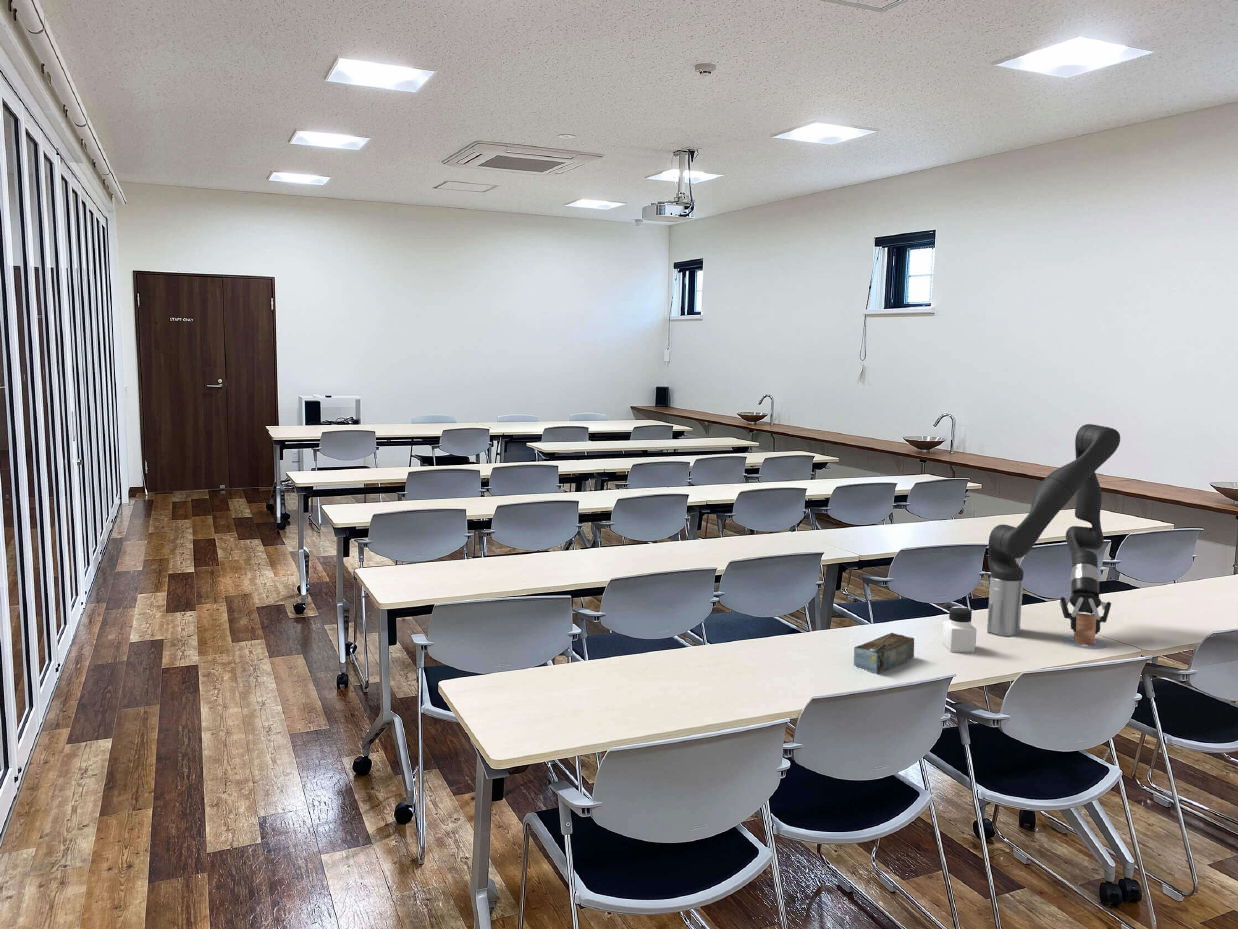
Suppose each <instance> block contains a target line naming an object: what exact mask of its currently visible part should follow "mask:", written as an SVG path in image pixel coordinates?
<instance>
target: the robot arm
mask: <svg viewBox="0 0 1238 929" xmlns="http://www.w3.org/2000/svg"><path fill="white" fill-rule="evenodd" d="M1120 443H1121V435H1120V432H1119V431H1118V430H1117V429H1115V428H1112V427H1109V426H1103V425H1100V424H1099V425H1098V424H1093V423H1087V424H1083V425H1082V426H1080V428H1078V430H1077V431H1076V433H1075V439H1074V446H1075V448H1074V449H1075V452H1074V453H1075V460H1072V461H1071V462H1069V463H1067V464H1065V465H1063V466H1061V467H1059V468H1057V469H1055V470H1053V471H1051V472H1050V473H1048V474H1047V476H1046V477H1045V478H1044V479H1043V480H1042V481H1041V483H1039V485H1038V487H1037V488H1036V489H1035V491H1034V493H1033V497H1032V501H1031V506H1030V510H1029V512H1028V514H1027V515H1026V517H1025V518H1024V519H1023V520H1022V521H1021V523H1020V524H1018V525H1017V526H1016V527H1015V526H1012V525H1009V524H1002V523H1001V524H998V525H996V526H995V527H993V529H991V532H990V535H989V538H988V544H987V545H988V548H987V550H988V552H987V553H988V555H987V556H988V557H987V558H988V560H987V561H988V568H989V570H990V577H989V579H990V580H989V594H988V608H987V610H988V612H987V625H986V626H987V627H986V630H987V631H986V633H988V632H991V633H990V634H993V633H994V635H996V634H997V635H996V636H1000V637H1001V636H1002V637H1014V636H1018V635H1020V632H1021V620H1022V619H1021V618H1022V606H1023V605H1022V602H1023V588H1024V587H1023V586H1024V570H1023V569H1022V567H1021V566H1020V565H1019V564H1018V562H1017V560H1016V559H1020V558H1021V559H1022V558H1024V557H1025V556H1026V555H1027V554H1028V553H1029V552H1030V551H1031V550H1032V548H1033V547H1034V546H1035V544H1036V542H1037V541H1038V540H1039V538H1040V537H1041V535H1042V533H1043V532H1044V531H1045V529H1046V528H1047V526H1049V524H1050V523H1051V522H1052V521H1053V519H1054V518H1055V517H1056V516H1057V515H1058V514H1059V512H1060V511H1061V510H1062V509H1063V508H1064V507H1065V506H1066V505H1067V504H1068V502H1069V501H1070V500H1071V499H1072V498H1073V497H1074V495H1075V494H1076V498H1075V499H1076V500H1075V507H1074V517H1075V518H1077V520H1080V521H1083V522H1087V523H1089V524H1090V525H1091V527H1089V526H1079V525H1072V526H1070V527H1068V528H1067V530H1066V532H1065V541H1066V544H1067V548H1068V550H1069V552H1070V555H1071V573H1070V574H1071V575H1070V588H1071V589H1070V592H1071V594H1070V597H1069V598H1068V597H1067V598H1065V597H1063V596H1061V597H1060V599H1059V605H1060V608H1061V611H1062V614H1063V618H1064V619H1069V621H1070V629H1071V631H1072V630H1073V631H1072V632H1073V633H1074V632H1076V614H1077V613H1082V614H1084V613H1085V614H1091V615H1094V616H1095V617H1096V630H1095V635H1098V634H1099V633H1100V631H1101V623H1103V624H1104V623H1106V622H1107V620H1108V617H1109V613H1110V610H1111V606H1112V603H1111V601H1107V602H1105V601H1102V600H1101V598H1100V576H1099V568H1098V567H1099V566H1098V555H1097V554H1096V553H1095V552H1094V551H1097V550H1100V549H1101V548H1102V547H1103V545H1104V542H1105V541H1104V534H1103V530H1102V526H1101V525H1102V524H1101V509H1102V501H1103V495H1102V494H1103V492H1102V489H1101V488H1102V487H1101V486H1100V485H1101V484H1100V482H1099V479H1098V476H1097V474H1096V471H1097V470H1098V469H1099V468H1100V467H1102V465H1103V464H1105V463H1106V462H1107V461H1108V460H1109V459H1110V458H1111V457H1112V456H1113V455H1114V453H1116V451H1117V450H1118V448H1119V446H1120ZM1069 603H1070V604H1071V605H1072V607H1073V610H1072V612H1070V611H1069V608H1068V606H1069ZM1100 606H1101V609H1102V610H1103V614H1102V615H1101V616H1100V614H1099V610H1098V608H1099V607H1100Z"/></svg>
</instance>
